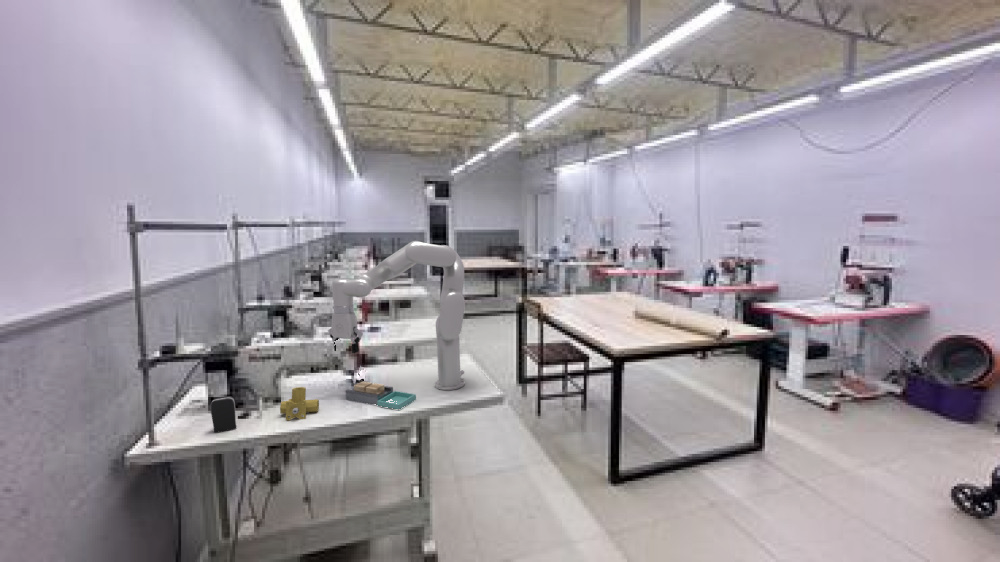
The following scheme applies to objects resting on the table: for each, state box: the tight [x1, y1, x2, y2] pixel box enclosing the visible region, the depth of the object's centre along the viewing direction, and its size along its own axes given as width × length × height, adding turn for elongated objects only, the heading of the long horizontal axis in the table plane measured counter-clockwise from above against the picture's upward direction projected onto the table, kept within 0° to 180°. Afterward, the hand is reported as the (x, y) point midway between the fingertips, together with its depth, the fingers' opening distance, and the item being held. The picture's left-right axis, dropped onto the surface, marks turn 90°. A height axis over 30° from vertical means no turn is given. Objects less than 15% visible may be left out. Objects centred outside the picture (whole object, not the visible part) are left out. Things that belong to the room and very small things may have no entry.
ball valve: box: [279, 386, 320, 421], centre depth 162 cm, size 13×10×10 cm
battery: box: [210, 395, 237, 433], centre depth 152 cm, size 7×4×11 cm, turn 116°
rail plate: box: [344, 385, 394, 406], centre depth 177 cm, size 9×16×4 cm, turn 66°
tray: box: [376, 390, 417, 410], centre depth 171 cm, size 11×10×2 cm
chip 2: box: [366, 382, 385, 394], centre depth 175 cm, size 5×5×2 cm
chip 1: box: [353, 380, 373, 392], centre depth 178 cm, size 5×5×2 cm
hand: (346, 351), depth 179 cm, fingers open, 8 cm apart
